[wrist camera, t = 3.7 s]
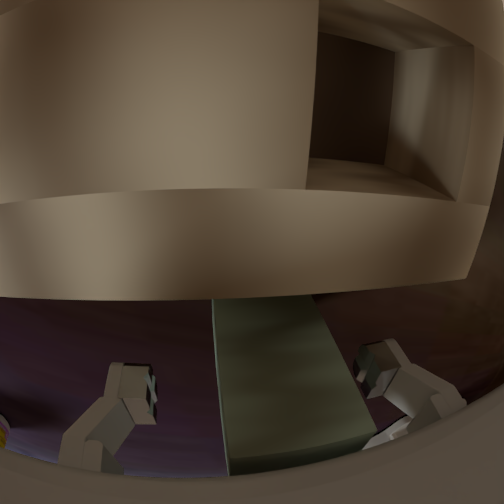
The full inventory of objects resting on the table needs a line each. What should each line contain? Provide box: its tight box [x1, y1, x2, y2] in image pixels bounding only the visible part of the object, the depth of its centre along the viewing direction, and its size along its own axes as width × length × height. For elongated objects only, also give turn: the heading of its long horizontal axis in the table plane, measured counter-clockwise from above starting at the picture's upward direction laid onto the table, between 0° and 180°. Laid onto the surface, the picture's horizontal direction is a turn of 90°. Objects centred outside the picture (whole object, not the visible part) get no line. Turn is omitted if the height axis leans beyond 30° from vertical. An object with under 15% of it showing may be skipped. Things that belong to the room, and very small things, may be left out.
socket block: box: [0, 0, 504, 300], centre depth 8 cm, size 20×12×6 cm, turn 87°
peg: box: [212, 294, 377, 476], centre depth 12 cm, size 4×4×10 cm
